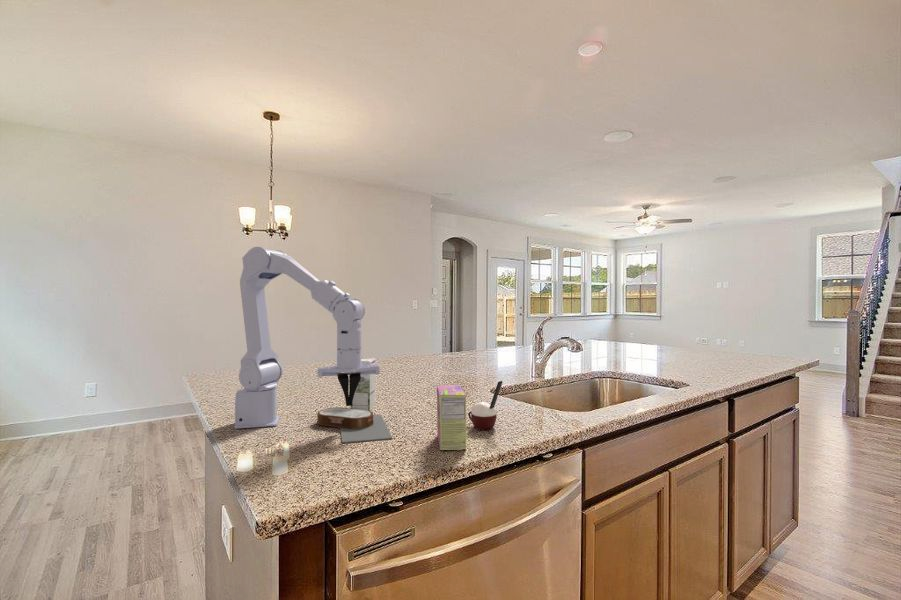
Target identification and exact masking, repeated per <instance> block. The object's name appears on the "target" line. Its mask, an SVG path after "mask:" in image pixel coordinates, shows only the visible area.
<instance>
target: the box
mask: <svg viewBox="0 0 901 600" xmlns="http://www.w3.org/2000/svg"><path fill="white" fill-rule="evenodd" d="M436 406H437V407H436V408H437V409H436V412H437V414H436V416H437V419H436V421H437V429H436V430H437V434H436V435H437V440H438V441H437V442H438V445H439V446H438V447H439V451H440V450H457V451H463V450H462V449H466V450H467V394H466V393H465V391H464V389H463V387H462V385H460V384H452V385H451V384H448V385H447V384H446V385H445V384H444V385H443V384H442V385H437V386H436Z"/></svg>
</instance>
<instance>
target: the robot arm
mask: <svg viewBox="0 0 901 600" xmlns="http://www.w3.org/2000/svg"><path fill="white" fill-rule="evenodd" d="M241 259H242V265H243V266H242V272H241V276H240V278H239V279H240V280H239V287H240V297H241V305H242V307H241V308H242V315H243V323H244V333H245V342H246V348H247V349H246V350H247V351H246V353H245V354H244V356H243V357H242V358H241V359H240V370H239V373H238V380H239V383H240V385H241V386H242V388H239V389H237V390H236V392H235V397H234V401H235V402H234V429H235V430H237V429H245V428H246V429H249V428H252V429H253V428H261V427H263V428H264V427H274V426H275V427H276V426H277V425H278V422H279V419H280V415H277V411H278V409H277V408H278V407H277V397H278V396H277V394H278V393H277V389H278V388H277V387H278V381H280V379H281V378H282V376H283V367H282V365H281V363H280V361H279V359H278V354H277V352H276V351H274V349H273V348H272V345H271V337H270V327H269V321H268V319H269V318H268V311H267V301H266V293H265V288H266V287H267V285H269V283H270V282H271V281H272V280H274V279H276V278H277V277H279V276H281V275H282V274H285V275H286V276H287V277H289V278H291V280H292V279H293V280H294V281H295V282H297V283H298V284H300V285H301V286H302V287H304V288H305V289H306V290H309V291H310V296H311V298H312V300H313V301H315V302H316V303H318V304H319V305H321V306H322V307H323V308H324V309H325V310H327V311H328V312H330V313H331V314H332V317H333V319H334V321H335V322H336V365H335V366H334V365H333V366H324V367H321V366H320V367H317V377H318V378H320V377H321V378H322V377H334V376H335V377H336V376H337V380H338V382H339V385H340V387H341V389H342V392H343V395H344V400H345V406H346V407H351V406H352V402H353V397H354V394H355V391H356V388H357V386H358V384H359V382H360V379H361V376H360V374H375V375H380V373H381V372H380V371H381V367H380V365H379V364H375V365H361V358H362V319H363V318H364V316H365V314H366V309H365V306H364V304H363V303H362V302H361V300H360V299H358V298H351V294H350V293H348V292H344V291H342V290H341V289H340V288H339V287H337V286H336V284H337V283H336V282H334V280H327V279H323V280H319V278H317V277H316V276H314V274H312V273H311V272H310V271H309V270H308V269H306V268H305V267H304V266H303V265H301V264H300V263H298V262H297V260H295V259H294V258H293V257H292V256H291V255H289V254H286V253H285V252H284V251H282V250H278V249H277V250H275V249H269V248H264V247H262V246H254V247H252V248H250V249H249V250H248V251H247V252H246V253H245V254H244V256H242V258H241Z"/></svg>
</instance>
